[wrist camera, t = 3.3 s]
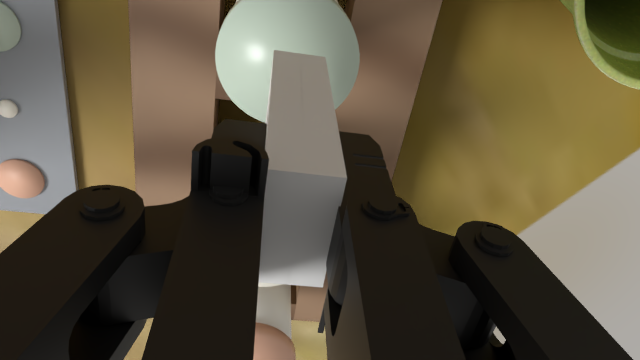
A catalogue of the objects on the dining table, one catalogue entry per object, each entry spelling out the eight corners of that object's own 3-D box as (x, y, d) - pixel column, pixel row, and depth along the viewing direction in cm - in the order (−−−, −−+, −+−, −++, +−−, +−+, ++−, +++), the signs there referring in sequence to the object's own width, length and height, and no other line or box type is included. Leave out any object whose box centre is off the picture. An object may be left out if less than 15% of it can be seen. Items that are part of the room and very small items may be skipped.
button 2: (236, -59, 21) (219, -25, 15) (350, -41, 22) (373, -1, 16) (229, 53, 24) (211, 117, 18) (331, 66, 24) (344, 133, 19)
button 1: (216, 238, 30) (200, 331, 24) (298, 246, 30) (301, 338, 25) (212, 297, 32) (197, 394, 26) (288, 302, 33) (289, 398, 27)
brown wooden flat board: (138, -141, 22) (122, -139, 20) (448, -84, 24) (464, -78, 22) (149, 282, 35) (140, 309, 33) (347, 296, 37) (351, 323, 35)
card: (-83, -42, 23) (-91, -40, 23) (55, -22, 24) (49, -19, 24) (-23, 203, 31) (-28, 209, 30) (81, 213, 32) (77, 219, 31)
